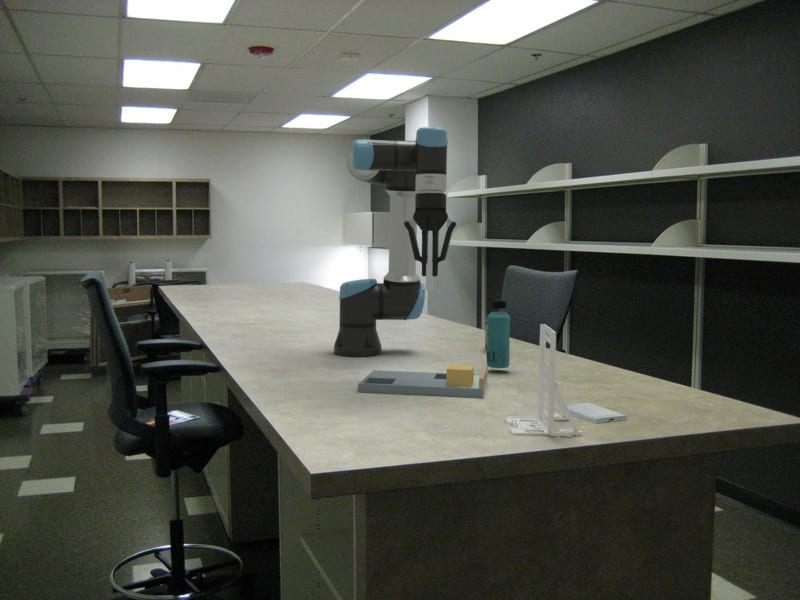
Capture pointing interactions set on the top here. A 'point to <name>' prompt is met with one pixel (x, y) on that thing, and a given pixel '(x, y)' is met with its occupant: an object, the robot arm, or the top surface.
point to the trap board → (421, 384)
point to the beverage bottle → (498, 337)
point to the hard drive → (594, 412)
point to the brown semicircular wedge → (486, 333)
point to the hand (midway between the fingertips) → (429, 289)
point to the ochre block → (460, 375)
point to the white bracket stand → (546, 385)
